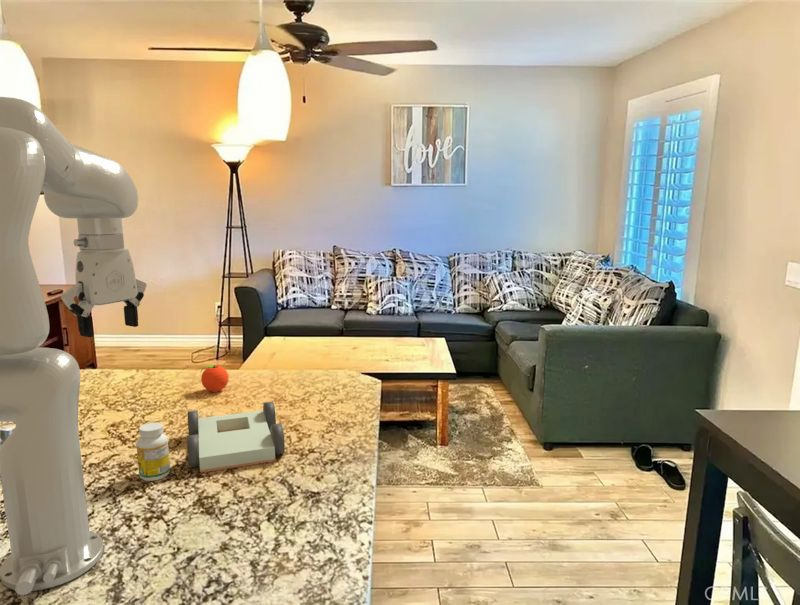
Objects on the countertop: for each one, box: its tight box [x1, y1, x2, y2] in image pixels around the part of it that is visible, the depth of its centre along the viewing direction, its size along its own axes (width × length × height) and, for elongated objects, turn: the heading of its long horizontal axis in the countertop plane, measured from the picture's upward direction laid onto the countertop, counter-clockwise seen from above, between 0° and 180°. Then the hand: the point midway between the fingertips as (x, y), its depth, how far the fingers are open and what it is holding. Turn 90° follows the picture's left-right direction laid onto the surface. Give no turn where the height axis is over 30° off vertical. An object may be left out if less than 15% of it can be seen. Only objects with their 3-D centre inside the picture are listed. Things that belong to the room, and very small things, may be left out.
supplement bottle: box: [136, 422, 171, 482], centre depth 106 cm, size 5×5×10 cm
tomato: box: [199, 364, 230, 393], centre depth 150 cm, size 8×7×7 cm
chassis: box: [186, 401, 286, 473], centre depth 118 cm, size 20×18×6 cm
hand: (110, 330), depth 111 cm, fingers open, 9 cm apart
